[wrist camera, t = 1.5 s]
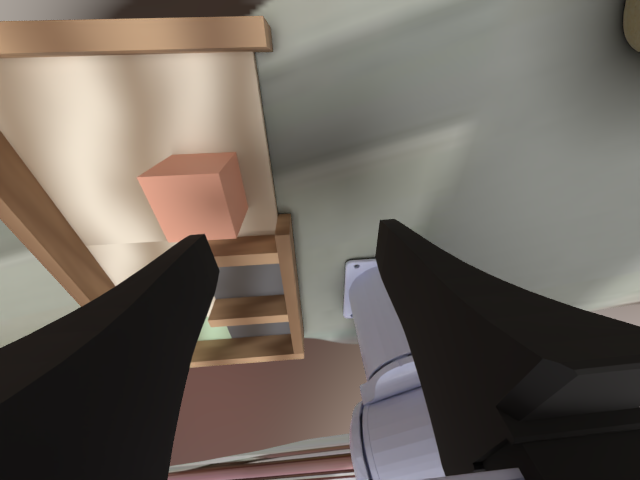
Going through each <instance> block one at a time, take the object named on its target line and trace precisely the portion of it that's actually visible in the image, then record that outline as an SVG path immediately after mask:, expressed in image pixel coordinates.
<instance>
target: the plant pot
mask: <svg viewBox="0 0 640 480" xmlns="http://www.w3.org/2000/svg"><path fill="white" fill-rule="evenodd" d="M623 28H624V34H625V37H626V39H627V41H628V43H629V44H630V46H631V47H632V48H633V49H635V50H636V51H638V52H640V0H626V3H625V9H624V16H623Z"/></svg>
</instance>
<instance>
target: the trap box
mask: <svg viewBox="0 0 640 480" xmlns="http://www.w3.org/2000/svg"><path fill="white" fill-rule="evenodd" d="M255 52H273V46H272V37H271V28H270V26H269V24H268V23H267V21H266V20H265V18H264V17H263V16H237V17H189V18H144V19H143V18H141V19H92V20H45V21H44V20H43V21H0V219H1V220H2V221H3V222H4V224H5V225H6V226H7V227H8V228H9V229H10V230H11V231H12V232H13V233H14V234H15V235H16V236H17V238H18V239H19V240H20V241H21V242H22V243H23V244H24V245H25V246H26V247H27V248H28V249H29V251H30V252H31V253H32V254H33V255H34V256H35V257H36V258H37V259H38V260H39V261H40V262H41V264H42V265H43V266H44V267H45V268H46V269H47V270H48V271H49V272H50V273H51V274H52V275H53V277H54V278H55V279H56V280H57V281H58V282H59V283H60V284H61V285H62V286H63V287H64V288H65V290H66V291H67V292H68V293H69V294H70V295H71V296H72V297H73V298H74V299H75V300H76V301H77V303H78V304H79V305H80V306H81V307H82V306H84V305H85V304H87V303H89V302H91V301H92V300H94V299H96V298H97V297H99V296H101V295H102V294H104V293H106V292H107V291H109V290H110V289H112V288H114V287H115V286H117V285H118V284H120V283H121V282H123V281H124V280H126V279H127V278H129V277H130V276H131V275H133V274H134V273H136V272H137V271H139V270H140V269H142V268H143V267H145V266H146V265H147V264H149V263H150V262H152V261H153V260H154V259H156V258H157V257H159V256H160V255H161V254H163V253H164V252H165V251H167V250H168V249H170V248H171V247H172V246H174V245H175V244H177V243H178V242H171V243H168V241H167V239H166V237H165V235H164V233H163V231H162V229H161V227H160V225H159V222H158V220H157V218H156V216H155V214H154V212H153V210H152V208H151V206H150V204H149V202H148V200H147V198H146V196H145V194H144V192H143V189H142V187H141V185H140V183H139V181H138V179H137V177H138V176H139V175H141V174H142V173H144V172H146V171H147V170H149V169H150V168H152V167H153V166H155V165H157V164H158V163H160V162H161V161H163V160H165V159H166V158H168V157H169V156H171V155H177V154H199V153H222V152H236V154H237V159H238V163H239V168H240V172H241V177H242V181H243V186H244V190H245V195H246V199H247V204H248V210H247V213H246V215H245V218H244V221H243V223H242V226H241V228H240V231H239V234H238V236H237V239H221V240H208V243H209V245H210V248H211V250H212V253H213V255H214V258H215V260H216V263H217V265H218V268H219V270H220V272H219V277H218V282H217V287H216V291H215V294H214V297H213V300H212V303H211V306H210V308H209V311H208V314H207V316H206V319H205V322H204V325H203V327H202V330H201V333H200V335H199V338H198V341H197V343H196V347H195V350H194V353H193V356H192V360H191V364H190V368H192V367H204V366H217V365H229V364H241V363H254V362H266V361H277V360H291V359H303V358H304V330H303V321H302V312H301V303H300V294H299V285H298V275H297V266H296V257H295V248H294V239H293V230H292V220H291V214H278V211H277V204H276V197H275V190H274V183H273V176H272V169H271V162H270V155H269V149H268V142H267V135H266V128H265V121H264V114H263V107H262V100H261V93H260V86H259V79H258V73H257V66H256V59H255Z"/></svg>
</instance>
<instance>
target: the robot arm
mask: <svg viewBox="0 0 640 480" xmlns="http://www.w3.org/2000/svg"><path fill="white" fill-rule="evenodd" d="M357 264H358V265H357ZM355 265H357V266H355ZM219 272H220V270H219V268H218V265H217V263H216V260H215V258H214V255H213V253H212V250H211V248H210V245H209V243H208V240H207V238H206V235H205V234H196V235H189V236H187V237H185V238H184V239H182V240H181V241H179V242H178V243H177V244H175V245H174V246H172V247H171V248H170V249H168V250H167V251H165V252H164V253H163V254H161V255H160V256H159V257H157V258H156V259H154V260H153V261H152V262H150V263H149V264H147V265H146V266H145V267H143V268H142V269H140V270H139V271H137V272H136V273H134V274H133V275H131V276H130V277H129V278H127V279H126V280H124V281H123V282H121V283H120V284H118V285H117V286H115V287H114V288H112V289H110V290H109V291H107V292H106V293H104V294H102V295H101V296H99V297H97V298H96V299H94V300H92V301H91V302H89V303H87V304H85V305H84V306H82V307H80V308H78V309H77V310H75V311H73V312H71V313H69V314H67V315H66V316H64V317H62V318H60V319H58V320H56V321H54V322H52V323H50V324H48V325H46V326H44V327H42V328H41V329H39V330H37V331H35V332H33V333H31V334H29V335H27V336H25V337H23V338H21V339H19V340H17V341H14V342H12V343H10V344H8V345H6V346H4V347H2V348H0V480H167V478H168V472H169V466H170V459H171V453H172V447H173V441H174V436H175V431H176V425H177V421H178V416H179V411H180V406H181V401H182V397H183V392H184V388H185V384H186V380H187V375H188V372H189V368H190V364H191V360H192V356H193V353H194V350H195V347H196V343H197V341H198V338H199V335H200V333H201V330H202V327H203V325H204V322H205V319H206V316H207V314H208V311H209V308H210V306H211V303H212V300H213V297H214V294H215V291H216V287H217V282H218V277H219ZM343 316H344V317H345V318H353V319H354V323H355V328H356V333H357V337H358V342H359V346H360V351H361V355H362V360H363V365H364V369H365V374H366V378H367V382H366V383H364V384H362V385H360V391H361V396H362V401H361V402H359V403H358V404H357V405H356V406H355V408H354V411H353V415H352V421H351V425H350V450H351V458H352V463H353V468H354V472H355V476H356V480H640V327H639V326H636V325H633V324H629V323H626V322H623V321H619V320H616V319H612V318H609V317H605V316H602V315H599V314H596V313H592V312H589V311H585V310H582V309H579V308H576V307H573V306H570V305H567V304H564V303H561V302H558V301H555V300H552V299H549V298H547V297H544V296H541V295H538V294H536V293H533V292H530V291H528V290H525V289H523V288H520V287H518V286H515V285H513V284H510V283H508V282H506V281H503V280H501V279H499V278H496V277H494V276H492V275H490V274H487V273H485V272H483V271H481V270H479V269H477V268H475V267H473V266H471V265H469V264H467V263H465V262H463V261H461V260H459V259H458V258H456V257H454V256H452V255H451V254H449V253H447V252H445V251H444V250H442V249H440V248H439V247H437V246H435V245H434V244H432V243H431V242H429V241H428V240H426V239H425V238H423V237H421V236H420V235H418V234H417V233H415V232H414V231H412V230H411V229H409V228H408V227H406V226H405V225H403V224H402V223H400V222H399V221H397V220H395V219H389V220H380V224H379V232H378V240H377V248H376V256H375V259H363V260H350V261H348V262H346V264H345V283H344V304H343Z"/></svg>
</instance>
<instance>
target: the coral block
mask: <svg viewBox="0 0 640 480" xmlns="http://www.w3.org/2000/svg"><path fill="white" fill-rule="evenodd" d="M137 179H138V181H139V183H140V185H141V187H142V189H143V192H144V194H145V196H146V198H147V200H148V202H149V204H150V206H151V208H152V210H153V212H154V214H155V216H156V218H157V220H158V222H159V225H160V227H161V229H162V231H163V233H164V235H165V237H166V239H167V241H168V243H171V242H179V241H181V240H182V239H184V238H185V237H187V236H189V235H196V234H205V235H206V238H207V240H221V239H237V236H238V234H239V231H240V228H241V226H242V223H243V221H244V218H245V215H246V213H247V210H248V204H247V199H246V195H245V190H244V186H243V181H242V177H241V172H240V168H239V163H238V159H237V154H236V152H222V153H199V154H177V155H171V156H169V157H168V158H166V159H165V160H163V161H161V162H160V163H158V164H157V165H155V166H153V167H152V168H150V169H149V170H147V171H146V172H144V173H142V174H141V175H139V176H138V177H137Z"/></svg>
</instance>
